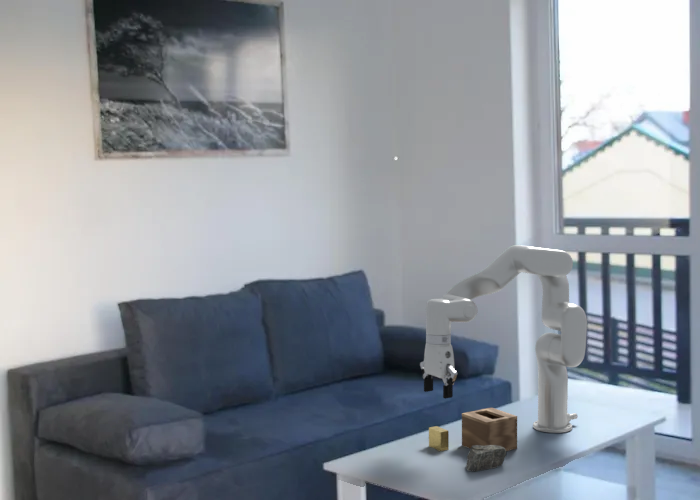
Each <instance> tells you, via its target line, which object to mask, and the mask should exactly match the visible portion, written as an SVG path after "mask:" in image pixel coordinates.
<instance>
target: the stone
mask: <svg viewBox="0 0 700 500" xmlns="http://www.w3.org/2000/svg"><path fill="white" fill-rule="evenodd" d="M506 457H507V451H506V449H505V448H504V447H501V446H497V445H487V446H481V445H473V446H472V447H471V449H470V448H469V451H468V454H467V457H466V458H467V459H466V460H467V461H466V467H465V468H466V470H467V471H468V472H478V471H484V470H489V469H490V470H491V469H496V468H497V467H501V466H503V463H504V461H505V458H506Z"/></svg>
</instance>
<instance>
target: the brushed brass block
mask: <svg viewBox="0 0 700 500" xmlns="http://www.w3.org/2000/svg"><path fill="white" fill-rule="evenodd" d="M449 443H450V442H449V430H447V429H445V428H444V427H443V428H442V427H440V426H437V425H435V426H431V427H428V447H429V448H432V449H434V450H437V451H438V452H444V451H448V450H449V447H450V446H449Z"/></svg>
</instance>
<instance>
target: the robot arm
mask: <svg viewBox="0 0 700 500" xmlns="http://www.w3.org/2000/svg"><path fill="white" fill-rule="evenodd" d="M573 261H574V260H573V257H571V255H570V253H568V252H567V251H565V250H561V249H553V248H546V247H545V248H544V247H536V246H530V245H521V244H514V245H511V246H509V247H507V248H506V249H504V251H502V253H500V254H499V255H498V256H496V258H495V259H493V260H492V262H490V263H489V264H487V266H486V267H485V268H483V269H482V270H481V271H479V272H477V273H474V274H471V275H470V276H468V277H466V278H464V279H462V280H460V281H458V282H457V283H456V284H454V285H453V286H452V287H451V288H449V289H448V290H447V291H446V292H445V293H444V294H443V295H442V296H441V297H440V298H432V299H428V300H427V302H426V308H425V310H426V311H425V312H426V314H425V319H426V320H425V328H426V329H425V332H426V333H425V346H424V354H423V361H421V362H419V366H420V369H421V370H420V372H421V374H422V378H423V392H424V393H427V392H433V391H434V378H433V377H435V378H439V379H442V381H443V384H444V385H442V387H443V388H442V397H443V399H445V400H447V399H450V398H453V397H454V396H453V395H454V394H453V393H454V392H453V391H454V390H453V389H454V385H455V382H456V381H457V376H458V372H457V370H455V355H454V349H453V344H451V343H452V341H451V339H452V335H451V334H452V332H451V331H452V323H453V322H454V323H465V324H466V323H469V322H472V321H473V320H474V319H475V318H476V317H477V315H478V306H477V304H476V302H475V301H474V299H476V298H478V297H483V296H487V295H492V294H496V293H498V292H501V291H502V290H503V289H504V288H505V287H506V286H507V285H509V283H511V281H513V280H514V279H515V278H516V277H517V276H518V275H520V274H521V273H523V274H524V273H525V274H530V275H537V277H538V278H539V279H540V282H541V285H542V297H541V298H542V300H541V322H542V324H543V326H545V327H546V328H548V329H550V330H551V329H552V330H555V331H558V332H561V333H556V332H545V333H543V334H541V335H540V336H539V337H538V338H537V340H536V341H535V347H534V348H535V349H534V350H535V351H534V352H535V356H536V357H535V358H536V361H537V362H536V363H537V374H538V375H537V377H538V378H537V381H538V382H537V383H538V384H537V385H538V386H537V420H535V421H534V422H533V424H532V427H533V428H534V429H535V430H536V431H539V432H543V433H551V434H560V433H561V434H563V433H567V432H570V431H572V429H573V425H572V423H570V422H571V420H577V419H578V414H577V413H575V412H574V413H569V412H568V397H569V396H568V387H569V386H568V382H569V377H568V376H569V375H568V370H567V368H576V367H578V366H579V365H581V364H582V362H583V360H584V359H585V355H586V347H587V331H588V330H587V329H588V320H587V315H586V312H585V310H584V308H583V307H581V306H580V305H579V304H575V303H571V302H570V284H569V279H568V277H567V275H569V274H570V272H571V271H572V269H573V267H574V266H573V265H574V262H573Z"/></svg>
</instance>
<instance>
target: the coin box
mask: <svg viewBox="0 0 700 500" xmlns="http://www.w3.org/2000/svg"><path fill="white" fill-rule="evenodd" d="M473 445H481V446H487V445H497V446H501V447H504V448H505V449H506V452H509V451H512V450H516V449H517V450H518V415H515V414H512V413H509V412H506V411H503V410H501V409H497V408H494V407H487V408H481V409H476V410H473V411H466V412H463V413H461V446H463V447H465V448H467V449H469V450H470V449H471V447H472V446H473Z"/></svg>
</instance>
